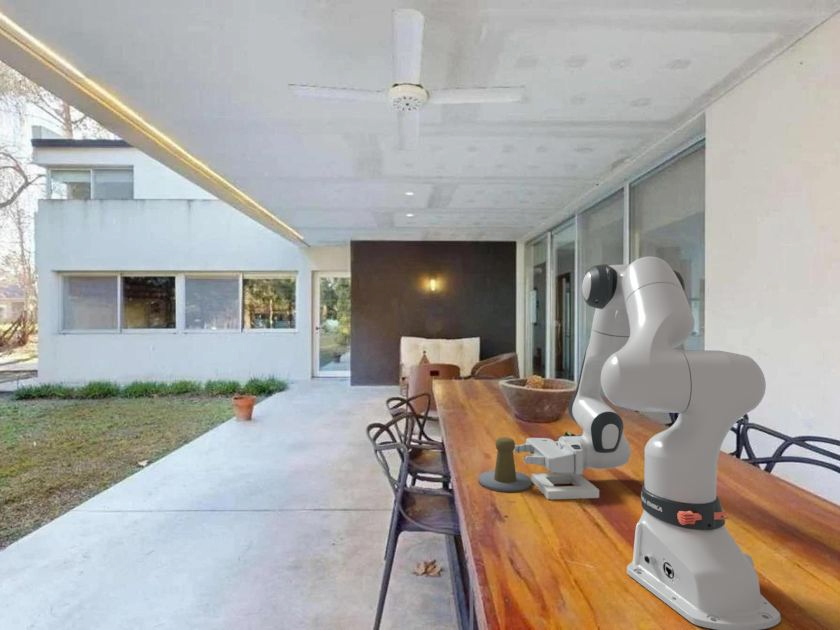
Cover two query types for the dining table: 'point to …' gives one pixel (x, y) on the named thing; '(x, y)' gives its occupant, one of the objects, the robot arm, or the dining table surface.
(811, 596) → the dining table surface
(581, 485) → the white square frame
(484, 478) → the charcoal mat
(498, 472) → the olive pawn
